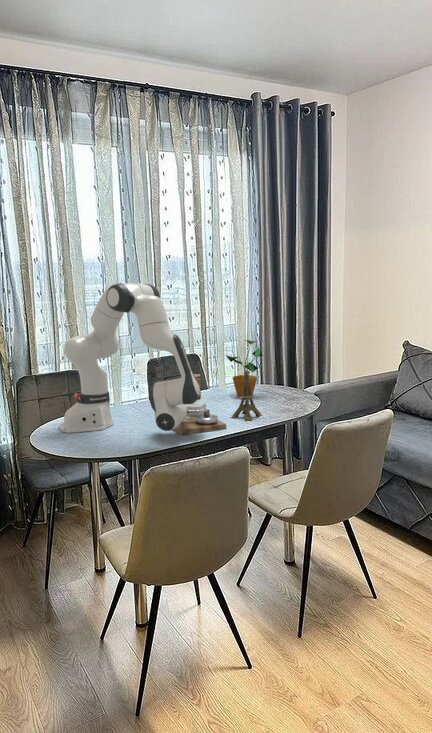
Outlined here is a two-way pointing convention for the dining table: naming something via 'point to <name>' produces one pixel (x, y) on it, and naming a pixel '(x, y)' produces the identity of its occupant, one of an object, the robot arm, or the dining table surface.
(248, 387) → the eiffel tower
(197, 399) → the canned food
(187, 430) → the stand
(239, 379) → the potted plant
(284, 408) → the dining table surface
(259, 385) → the dining table surface
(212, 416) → the crank handle
